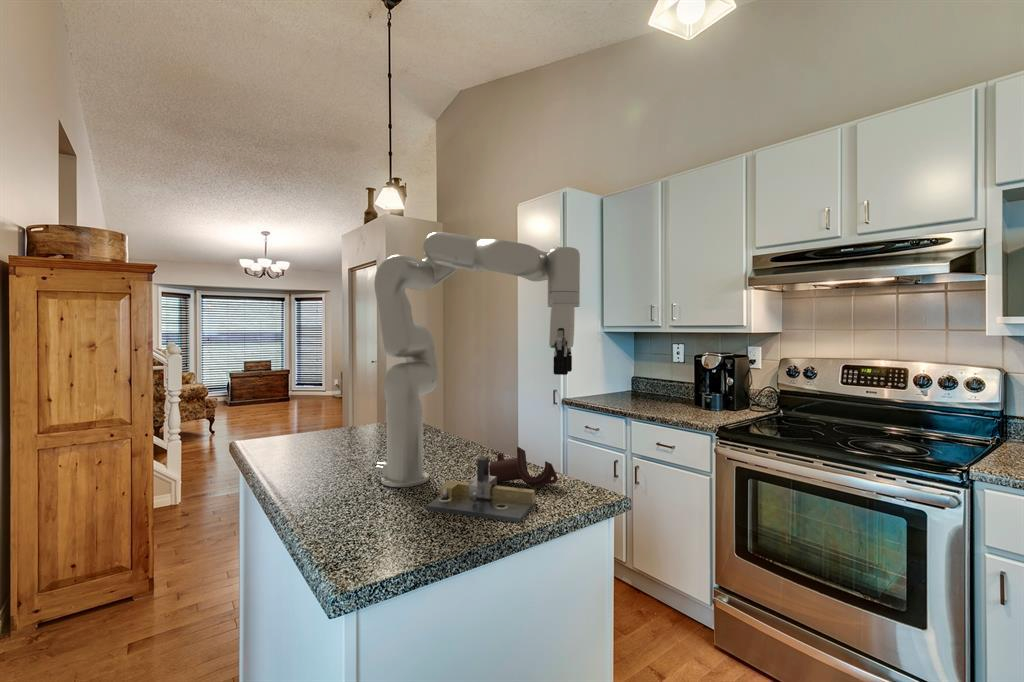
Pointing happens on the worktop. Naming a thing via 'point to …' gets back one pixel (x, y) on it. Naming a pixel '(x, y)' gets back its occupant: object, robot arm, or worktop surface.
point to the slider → (482, 480)
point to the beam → (497, 492)
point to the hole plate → (482, 508)
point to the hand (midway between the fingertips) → (563, 372)
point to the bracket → (520, 470)
